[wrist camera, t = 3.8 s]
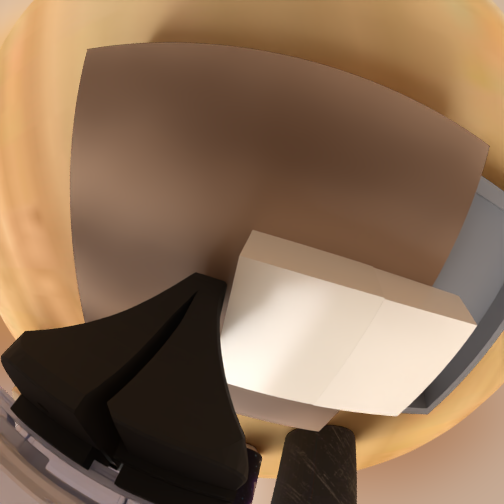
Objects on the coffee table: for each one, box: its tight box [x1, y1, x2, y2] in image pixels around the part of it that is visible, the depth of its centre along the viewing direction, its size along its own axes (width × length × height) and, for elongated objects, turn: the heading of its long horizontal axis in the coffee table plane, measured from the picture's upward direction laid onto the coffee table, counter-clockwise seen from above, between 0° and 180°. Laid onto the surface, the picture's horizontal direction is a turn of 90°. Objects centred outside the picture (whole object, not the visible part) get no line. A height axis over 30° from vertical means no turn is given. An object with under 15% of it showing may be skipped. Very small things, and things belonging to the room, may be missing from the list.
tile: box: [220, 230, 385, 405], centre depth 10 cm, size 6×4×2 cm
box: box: [401, 176, 504, 414], centre depth 13 cm, size 16×9×2 cm, turn 166°
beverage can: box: [232, 444, 262, 504], centre depth 20 cm, size 6×6×12 cm
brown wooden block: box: [70, 42, 490, 432], centre depth 13 cm, size 18×16×4 cm
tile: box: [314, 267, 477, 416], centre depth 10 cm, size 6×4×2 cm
